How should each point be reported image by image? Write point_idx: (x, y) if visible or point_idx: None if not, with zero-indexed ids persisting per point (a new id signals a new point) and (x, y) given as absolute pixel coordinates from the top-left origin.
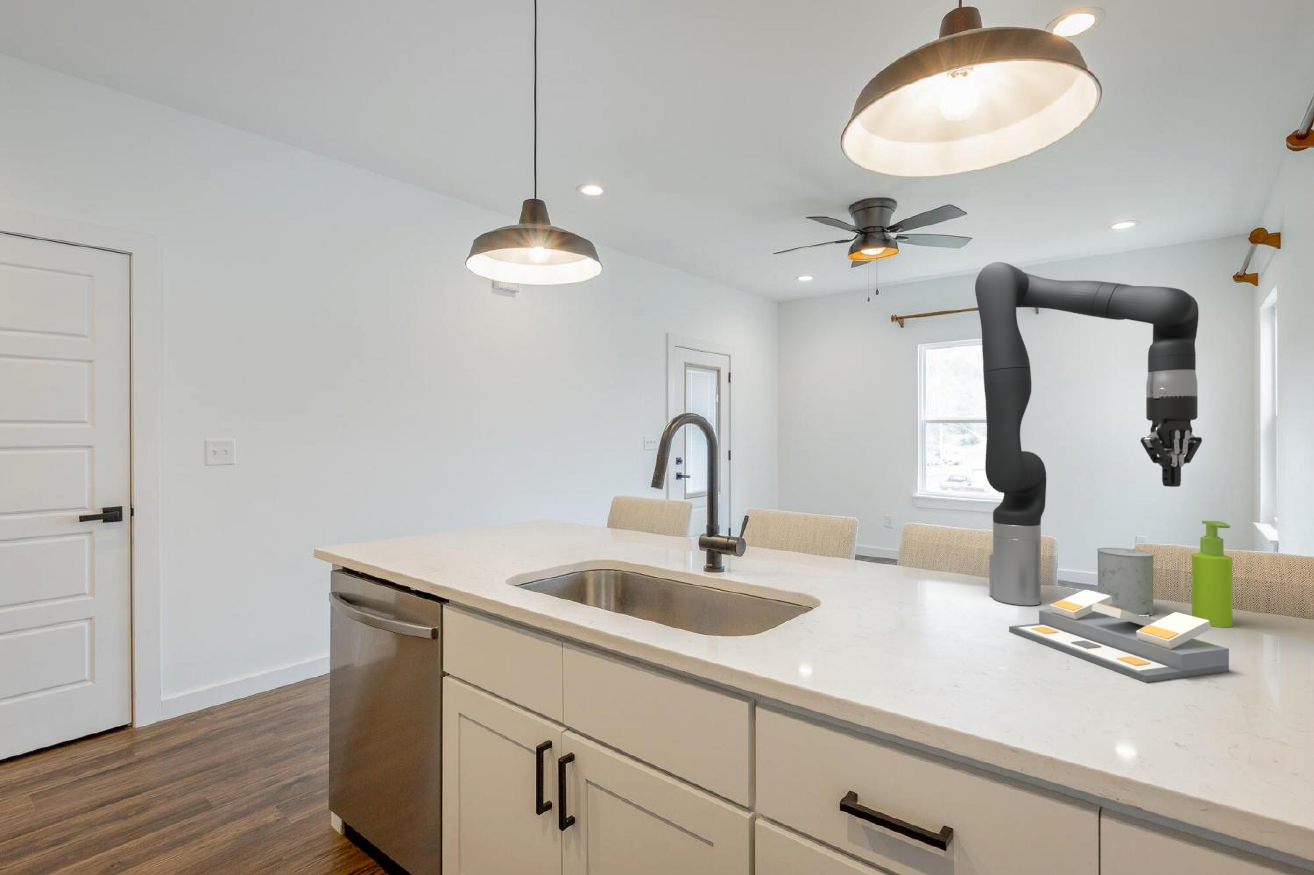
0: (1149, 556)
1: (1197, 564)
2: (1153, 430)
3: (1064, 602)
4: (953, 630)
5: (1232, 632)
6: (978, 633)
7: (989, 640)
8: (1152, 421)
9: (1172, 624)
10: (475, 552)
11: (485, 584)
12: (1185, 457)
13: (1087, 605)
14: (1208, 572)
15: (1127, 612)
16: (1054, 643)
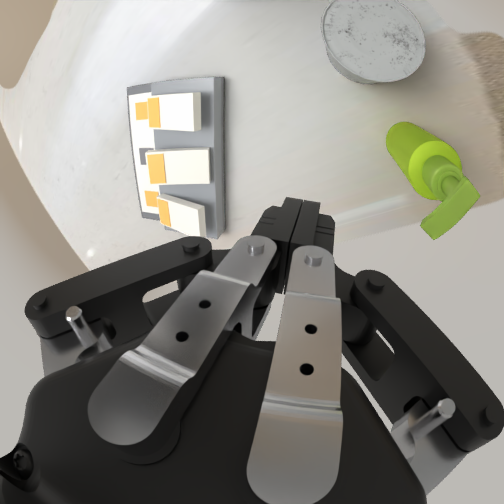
0: (376, 81)
1: (406, 153)
2: (48, 398)
3: (155, 105)
4: (94, 77)
5: (379, 173)
6: (105, 88)
7: (102, 108)
8: (13, 449)
9: (178, 216)
10: None
11: None
12: (343, 343)
13: (164, 128)
14: (402, 167)
15: (158, 184)
16: (131, 140)
